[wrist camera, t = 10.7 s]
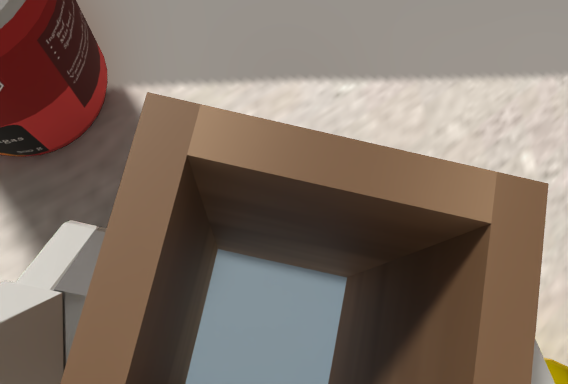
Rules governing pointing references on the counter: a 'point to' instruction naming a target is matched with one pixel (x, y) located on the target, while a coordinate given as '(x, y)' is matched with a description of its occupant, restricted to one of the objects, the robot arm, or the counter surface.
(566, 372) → the element tile
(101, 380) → the walnut tube
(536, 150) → the counter surface
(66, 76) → the canned food
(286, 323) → the slate tray
